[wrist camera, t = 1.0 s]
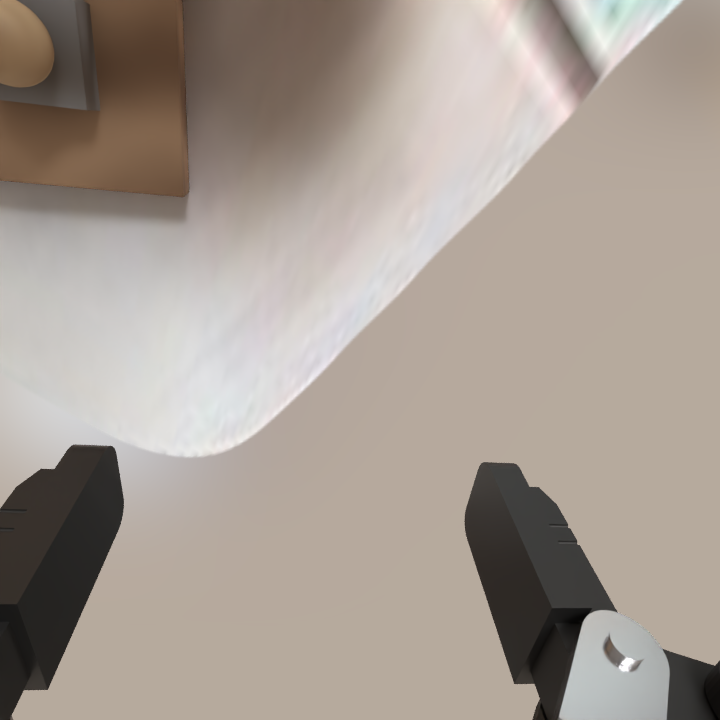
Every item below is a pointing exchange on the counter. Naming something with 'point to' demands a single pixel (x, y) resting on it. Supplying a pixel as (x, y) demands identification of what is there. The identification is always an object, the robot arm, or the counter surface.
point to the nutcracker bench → (127, 117)
